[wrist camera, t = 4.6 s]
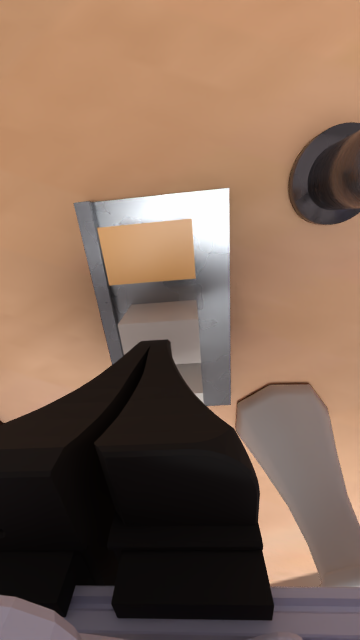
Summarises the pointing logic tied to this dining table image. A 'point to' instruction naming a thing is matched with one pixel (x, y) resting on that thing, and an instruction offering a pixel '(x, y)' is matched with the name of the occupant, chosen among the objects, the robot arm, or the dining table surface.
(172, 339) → the toggle mid
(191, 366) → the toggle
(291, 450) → the flask
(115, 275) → the toggle orange
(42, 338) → the dining table surface
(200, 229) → the panel
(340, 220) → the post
